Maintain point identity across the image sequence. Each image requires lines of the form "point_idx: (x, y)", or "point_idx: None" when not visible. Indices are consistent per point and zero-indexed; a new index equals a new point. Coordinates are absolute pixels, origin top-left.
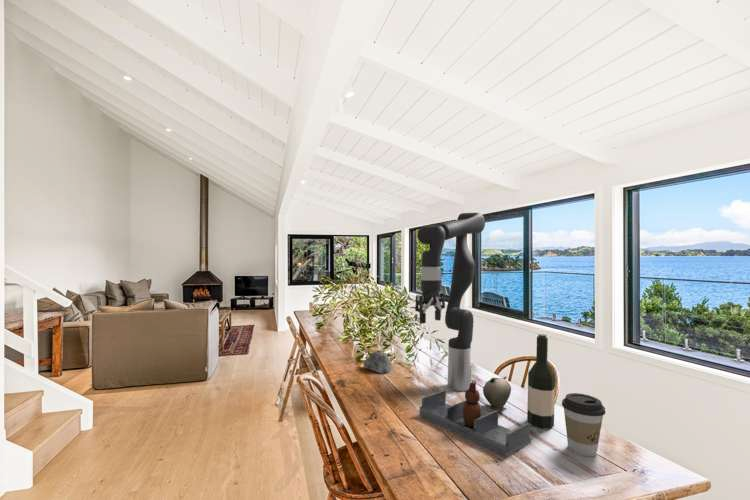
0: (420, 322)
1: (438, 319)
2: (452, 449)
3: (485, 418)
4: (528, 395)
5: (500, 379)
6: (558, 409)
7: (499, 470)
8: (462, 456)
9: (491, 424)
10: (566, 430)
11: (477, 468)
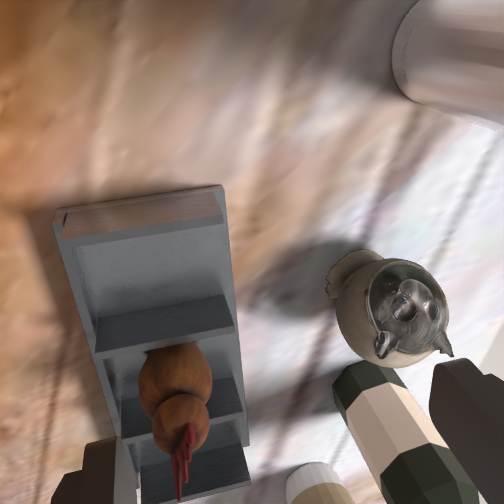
0: (89, 444)
1: (436, 418)
2: (27, 408)
3: None
4: (380, 428)
5: (410, 357)
6: (486, 346)
7: None
8: (31, 437)
9: None
10: (306, 499)
11: (31, 477)
